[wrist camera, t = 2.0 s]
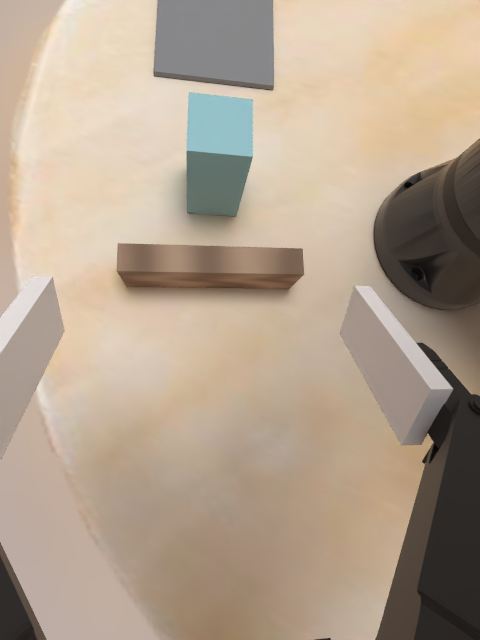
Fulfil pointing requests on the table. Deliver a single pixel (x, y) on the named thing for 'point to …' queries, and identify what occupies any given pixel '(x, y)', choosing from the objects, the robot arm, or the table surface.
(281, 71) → the table surface
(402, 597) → the robot arm
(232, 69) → the mat
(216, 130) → the block
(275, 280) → the rail
